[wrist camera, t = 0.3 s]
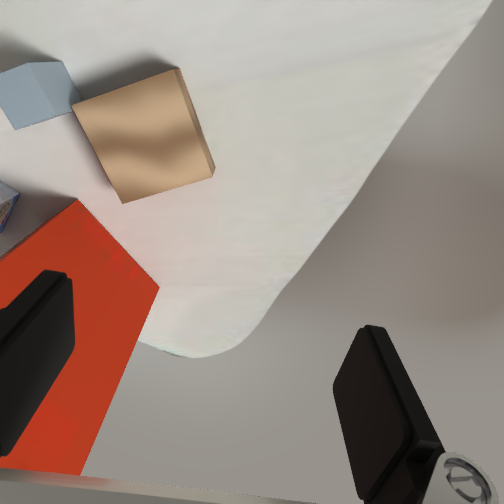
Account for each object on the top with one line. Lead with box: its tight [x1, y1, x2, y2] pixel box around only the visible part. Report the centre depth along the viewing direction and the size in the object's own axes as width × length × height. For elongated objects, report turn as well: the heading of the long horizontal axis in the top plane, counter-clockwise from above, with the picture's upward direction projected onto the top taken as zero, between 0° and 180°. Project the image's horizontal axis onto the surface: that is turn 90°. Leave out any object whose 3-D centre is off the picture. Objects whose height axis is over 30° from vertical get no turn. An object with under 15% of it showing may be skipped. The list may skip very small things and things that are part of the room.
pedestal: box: [71, 68, 215, 204], centre depth 42 cm, size 12×12×4 cm
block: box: [0, 62, 82, 130], centre depth 38 cm, size 5×5×7 cm
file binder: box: [0, 200, 160, 476], centre depth 38 cm, size 8×17×32 cm, turn 32°
